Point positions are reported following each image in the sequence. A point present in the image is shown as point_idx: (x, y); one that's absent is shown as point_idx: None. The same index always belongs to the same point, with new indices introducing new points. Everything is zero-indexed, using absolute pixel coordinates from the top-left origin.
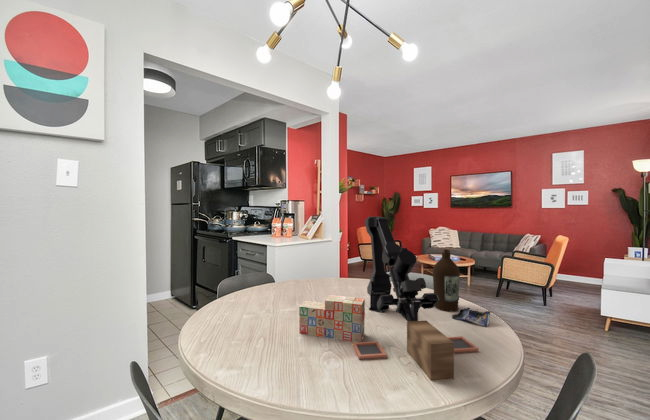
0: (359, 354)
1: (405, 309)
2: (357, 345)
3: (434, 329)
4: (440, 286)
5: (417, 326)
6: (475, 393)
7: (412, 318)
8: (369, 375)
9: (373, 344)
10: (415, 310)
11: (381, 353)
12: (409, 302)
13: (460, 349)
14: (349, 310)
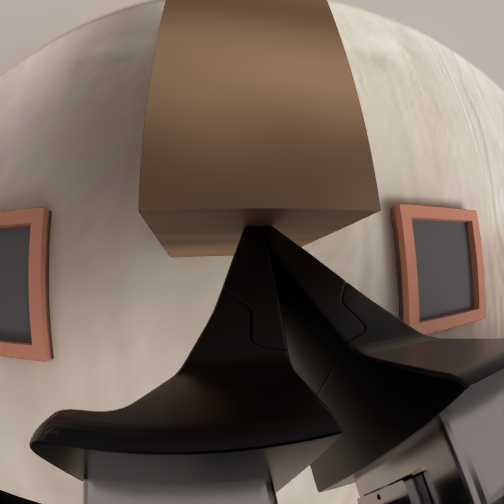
0: (475, 223)
1: (429, 336)
2: (470, 310)
3: (186, 22)
4: None
5: (313, 86)
6: (164, 4)
7: (305, 267)
8: (440, 126)
9: (424, 320)
10: (254, 347)
11: (416, 217)
12: (466, 375)
13: (11, 213)
14: None
